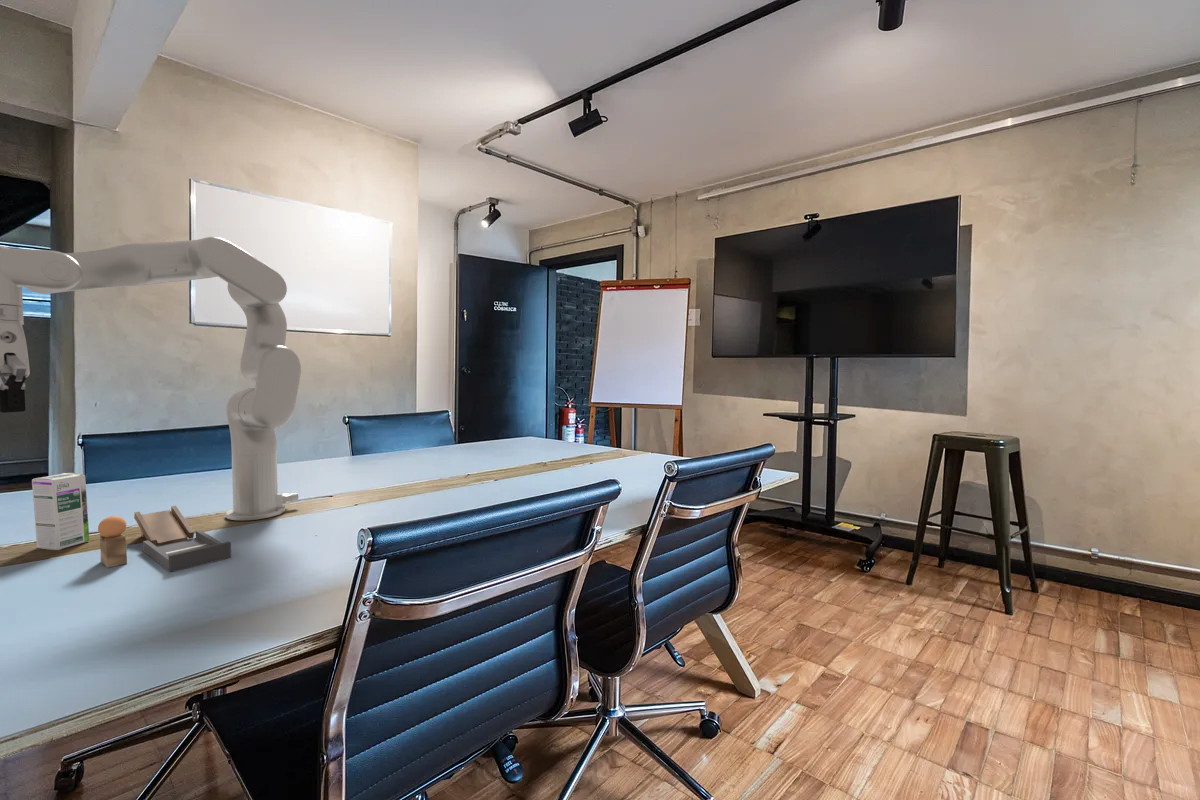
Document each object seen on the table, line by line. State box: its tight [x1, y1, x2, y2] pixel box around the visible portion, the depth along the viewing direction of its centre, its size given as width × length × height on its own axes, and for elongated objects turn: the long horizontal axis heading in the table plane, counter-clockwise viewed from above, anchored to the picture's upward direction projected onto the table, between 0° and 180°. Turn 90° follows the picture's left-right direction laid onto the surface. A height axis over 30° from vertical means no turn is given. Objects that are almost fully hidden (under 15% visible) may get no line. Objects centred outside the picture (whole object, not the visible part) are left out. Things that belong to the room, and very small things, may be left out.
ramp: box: [133, 505, 195, 546], centre depth 116 cm, size 7×12×6 cm, turn 53°
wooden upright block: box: [99, 534, 128, 569], centre depth 102 cm, size 3×5×5 cm, turn 53°
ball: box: [97, 515, 127, 538], centre depth 102 cm, size 4×4×4 cm
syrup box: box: [31, 472, 90, 551], centre depth 111 cm, size 6×6×14 cm
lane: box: [142, 529, 232, 573], centre depth 107 cm, size 10×17×3 cm, turn 53°
